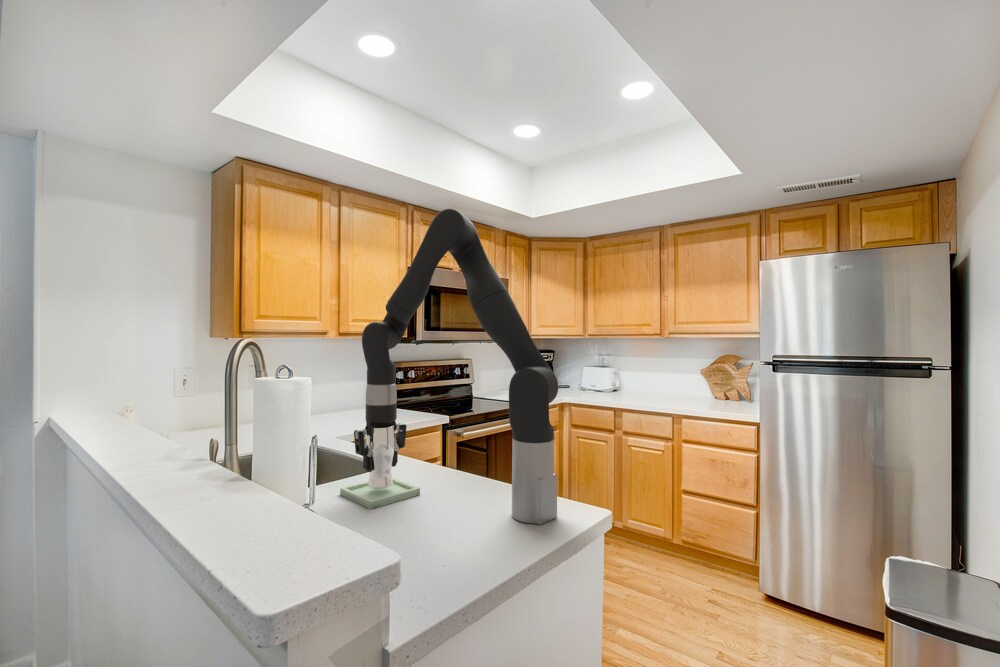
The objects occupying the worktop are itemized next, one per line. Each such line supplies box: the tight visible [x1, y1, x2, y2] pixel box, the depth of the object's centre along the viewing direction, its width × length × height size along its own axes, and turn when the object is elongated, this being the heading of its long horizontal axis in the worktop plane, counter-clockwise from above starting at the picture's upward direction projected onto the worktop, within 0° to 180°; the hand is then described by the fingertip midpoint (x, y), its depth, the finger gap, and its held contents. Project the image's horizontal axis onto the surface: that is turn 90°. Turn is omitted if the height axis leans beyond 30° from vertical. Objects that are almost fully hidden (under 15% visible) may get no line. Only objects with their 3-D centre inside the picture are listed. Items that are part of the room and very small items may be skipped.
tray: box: [339, 477, 421, 510], centre depth 119 cm, size 14×14×2 cm
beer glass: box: [365, 424, 396, 489], centre depth 119 cm, size 7×7×15 cm
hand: (380, 468), depth 119 cm, fingers closed on beer glass, 6 cm apart
